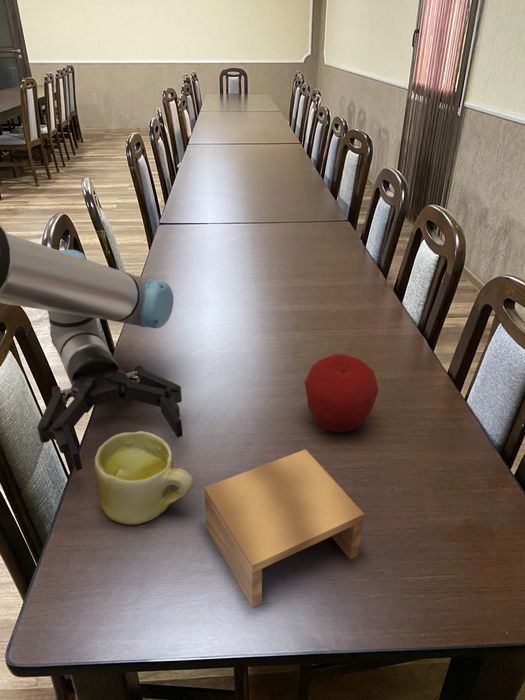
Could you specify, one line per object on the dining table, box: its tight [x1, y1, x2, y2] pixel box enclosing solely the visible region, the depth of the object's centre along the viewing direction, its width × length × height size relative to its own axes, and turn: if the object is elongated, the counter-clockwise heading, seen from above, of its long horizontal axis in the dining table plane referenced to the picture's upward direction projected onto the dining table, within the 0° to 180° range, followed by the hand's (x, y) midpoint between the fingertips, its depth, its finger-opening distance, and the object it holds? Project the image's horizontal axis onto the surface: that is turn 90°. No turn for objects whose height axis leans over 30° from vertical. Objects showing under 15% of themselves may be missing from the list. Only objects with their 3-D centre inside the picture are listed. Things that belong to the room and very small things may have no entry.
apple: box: [304, 353, 379, 433], centre depth 80 cm, size 11×11×12 cm
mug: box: [93, 430, 194, 526], centre depth 67 cm, size 12×10×10 cm
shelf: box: [203, 448, 365, 609], centre depth 62 cm, size 14×12×7 cm
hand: (130, 445), depth 70 cm, fingers open, 13 cm apart
